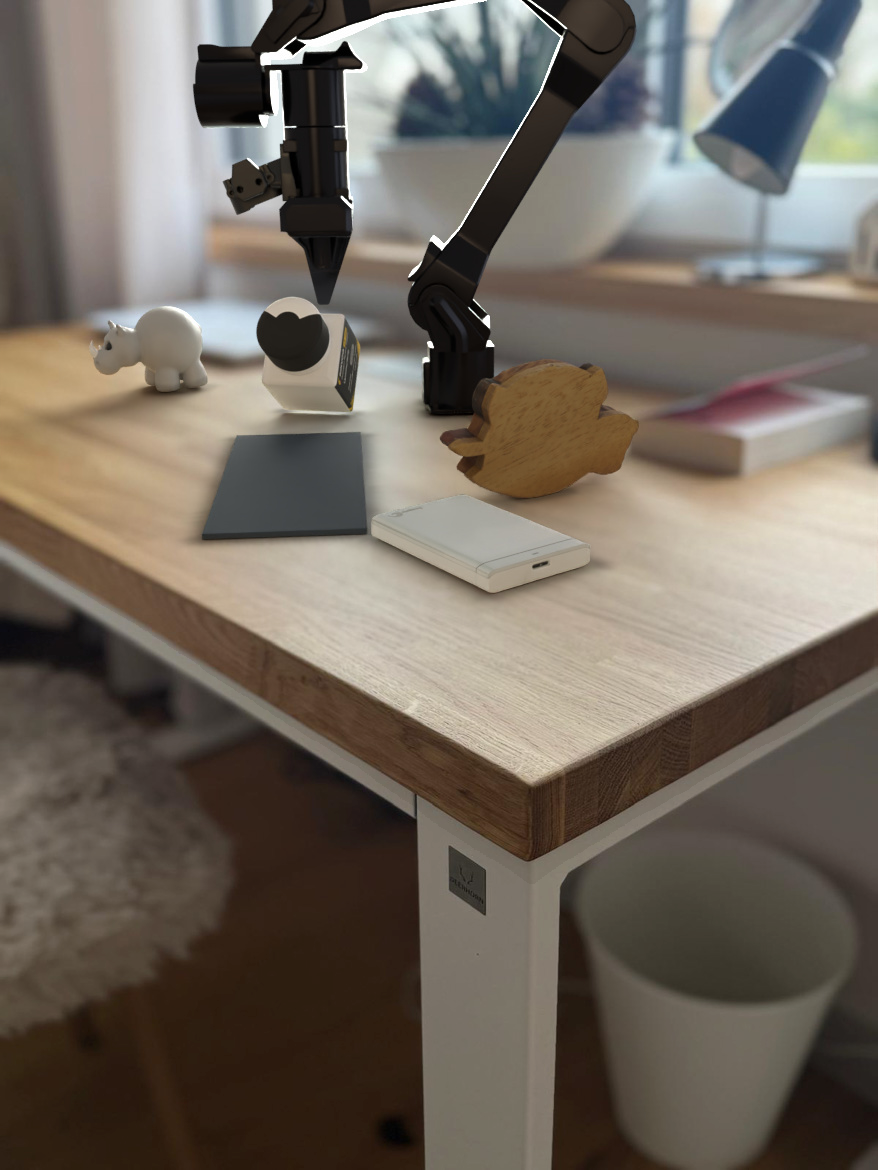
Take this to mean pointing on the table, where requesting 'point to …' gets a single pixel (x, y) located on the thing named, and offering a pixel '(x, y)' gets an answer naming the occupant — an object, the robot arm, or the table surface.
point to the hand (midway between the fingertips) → (323, 304)
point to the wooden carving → (541, 429)
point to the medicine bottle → (308, 356)
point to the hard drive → (480, 542)
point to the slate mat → (290, 487)
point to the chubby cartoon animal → (156, 349)
